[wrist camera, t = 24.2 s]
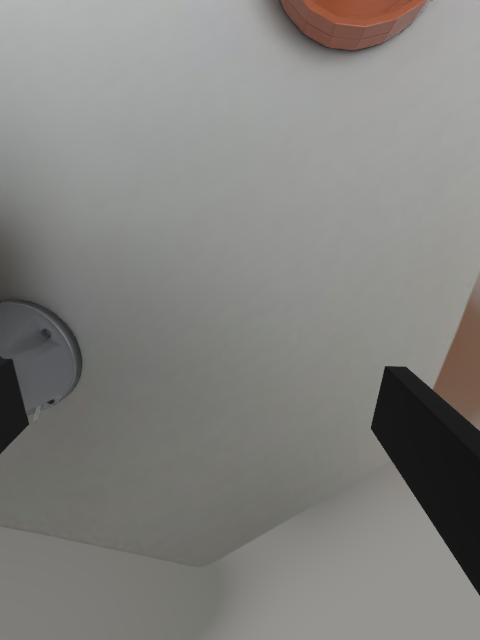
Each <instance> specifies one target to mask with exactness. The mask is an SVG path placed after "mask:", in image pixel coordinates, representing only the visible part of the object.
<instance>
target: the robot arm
mask: <svg viewBox="0 0 480 640" xmlns="http://www.w3.org/2000/svg"><path fill="white" fill-rule="evenodd" d="M81 365H82V363H81V354H80V350H79V347H78V344H77V342H76V340H75V338H74V336H73V334H72V333H71V331H70V330H69V328H68V327H67V326H66V325H65V324H64V323H63V322H62V320H61V319H59V318H58V317H57V316H56V315H55V314H53V313H52V312H50V311H49V310H47V309H45V308H44V307H42V306H39V305H37V304H34V303H31V302H27V301H19V300H12V301H5V302H1V303H0V454H1V453H2V452H3V450H4V449H5V448H6V447H7V446H8V445H9V444H10V443H11V442H12V441H13V440H14V439H15V438H16V437H17V436H18V435H19V434H20V433H21V432H22V431H23V430H24V429H25V428H26V427H27V426H28V425H29V422H28V418H27V415H29V414H32V413H35V414H34V419H33V422H34V421H35V420H36V419H38V418H39V413H40V410H44V409H46V408H49V407H51V406H53V405H55V404H57V403H58V402H60V401H61V400H62V399H63V398H65V397H66V396H67V395H68V394H69V393H70V392H71V391H72V390H73V389H74V388H75V386H76V384H77V383H78V380H79V378H80V374H81ZM371 429H372V431H373V433H374V434H375V436H376V437H377V439H378V440H379V442H380V443H381V445H382V446H383V448H384V449H385V451H386V452H387V454H388V456H389V457H390V459H391V460H392V462H393V463H394V465H395V466H396V468H397V469H398V471H399V472H400V474H401V475H402V477H403V479H404V480H405V482H406V483H407V485H408V486H409V488H410V489H411V491H412V492H413V494H414V495H415V497H416V499H417V500H418V502H419V503H420V504H421V506H422V508H423V509H424V511H425V512H426V514H427V515H428V517H429V518H430V520H431V521H432V523H433V525H434V526H435V528H436V529H437V531H438V532H439V534H440V535H441V537H442V538H443V540H444V542H445V543H446V545H447V546H448V548H449V549H450V551H451V552H452V554H453V555H454V557H455V558H456V560H457V561H458V563H459V564H460V566H461V567H462V569H463V571H464V572H465V574H466V575H467V577H468V578H469V580H470V581H471V583H472V585H473V586H474V588H475V589H476V591H477V592H478V594H479V595H480V431H479V430H478V429H477V428H475V427H474V426H473V425H472V424H471V423H470V422H469V421H468V420H466V419H465V418H464V417H463V416H462V415H461V414H459V413H458V412H457V411H456V410H455V409H454V408H453V407H451V406H450V405H449V404H448V403H447V402H446V401H444V400H443V399H442V398H441V397H440V396H439V395H438V394H437V393H435V392H434V391H433V390H432V389H431V388H430V387H429V386H427V385H426V384H425V383H424V382H423V381H422V380H421V379H419V378H418V377H417V376H416V375H415V374H414V373H412V372H411V371H410V370H409V369H408V368H407V367H395V366H385V369H384V374H383V378H382V382H381V386H380V391H379V395H378V399H377V404H376V408H375V412H374V417H373V421H372V425H371Z"/></svg>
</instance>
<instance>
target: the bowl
mask: <svg viewBox="0 0 480 640" xmlns="http://www.w3.org/2000/svg"><path fill="white" fill-rule="evenodd" d="M280 1H281V3H282V6H283V8H284V10H285V12H286V13H287V15H288V16H289V17H290V18H291V19H292V21H293V22H294V23H295V24H296V25H297V26H298V28H299V29H300V30H301V31H302V32H303V33H304V35H306V36H308V37H310V38H312V39H313V40H315V41H317V42H319V43H321V44H322V45H324V46H326V47H329V48H338V49H346V50H358V49H362V48H366V47H370V46H374V45H378V44H382V43H383V42H385V41H387V40H388V39H390V38H391V37H393V36H395V35H396V34H398V33H399V32H401V31H402V30H404V29H406V28H407V27H409V26H410V25H411V24H412V23H413V22H414V20H415V19H416V18H417V17H418V16H419V15H420V14H421V13H422V12H423V10H424V9H425V8H426V7H427V6H428V5H429V4H430V3H431V2H432V0H280Z"/></svg>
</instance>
